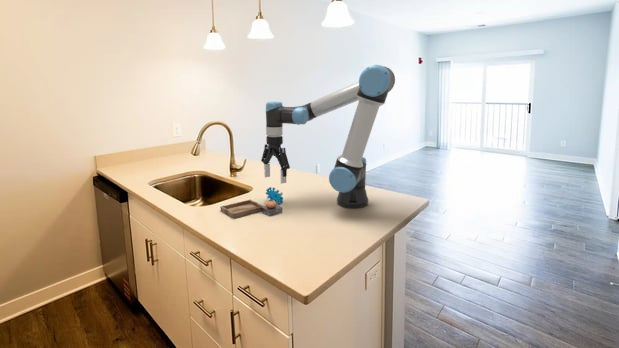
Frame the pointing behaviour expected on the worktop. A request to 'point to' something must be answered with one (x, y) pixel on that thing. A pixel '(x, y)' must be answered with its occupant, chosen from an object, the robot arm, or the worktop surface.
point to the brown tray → (241, 209)
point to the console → (271, 210)
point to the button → (271, 204)
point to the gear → (274, 195)
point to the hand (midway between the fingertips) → (275, 179)
